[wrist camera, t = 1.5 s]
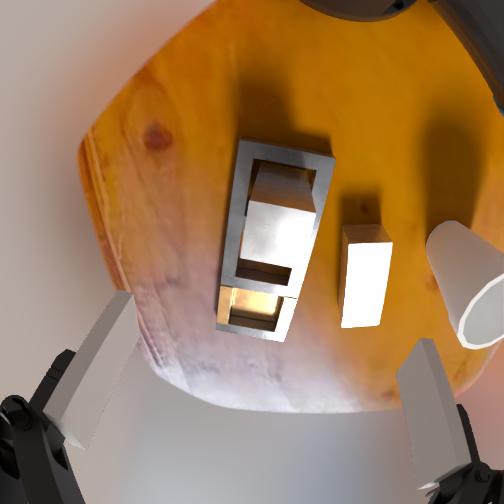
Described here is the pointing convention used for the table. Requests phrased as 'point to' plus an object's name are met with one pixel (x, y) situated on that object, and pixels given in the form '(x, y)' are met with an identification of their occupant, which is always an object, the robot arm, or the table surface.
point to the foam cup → (469, 282)
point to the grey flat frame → (243, 280)
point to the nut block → (363, 273)
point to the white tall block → (279, 217)
